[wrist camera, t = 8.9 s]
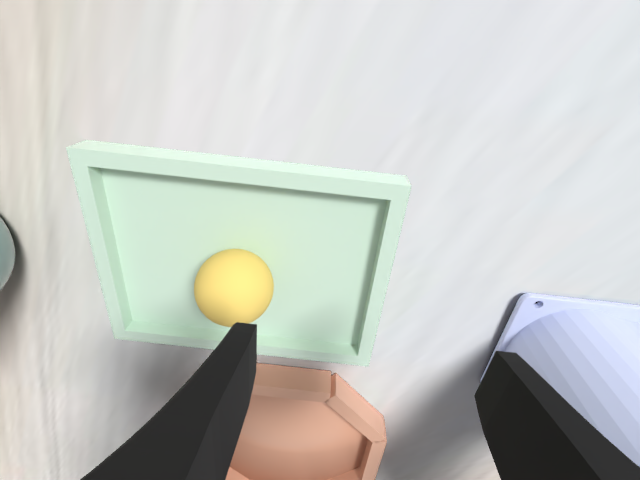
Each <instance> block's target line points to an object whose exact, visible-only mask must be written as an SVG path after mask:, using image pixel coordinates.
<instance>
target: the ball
mask: <svg viewBox="0 0 640 480" xmlns="http://www.w3.org/2000/svg"><path fill="white" fill-rule="evenodd" d="M273 291H274V282H273V277H272V273H271V271H270V269H269V267H268V266H267V264H266V263H265V262H264V261H263V260H262V259H261V258H260V257H259V256H257V255H256V254H254V253H252V252H250V251H247V250H243V249H227V250H223V251H220V252H218V253H216V254H214V255H212V256H211V257H210V258H208V259H207V260H206V261H205V262H204V263H203V265H202V266H201V267H200V269H199V271H198V273H197V275H196V278H195V282H194V296H195V300H196V303H197V305H198V307H199V309H200V311H201V312H202V313H203V314H204V315H205V316H206V317H207V318H208V319H209V320H211V321H212V322H214V323H216V324H218V325H221V326H226V327H232V326H233V324H235V323H236V322H240V323H251V322H253V321H255V320H256V319H258V318H259V317H260V316H261V315H262V314H263V313H264V312H265V311H266V309H267V308H268V306H269V305H270V302H271V300H272V297H273Z"/></svg>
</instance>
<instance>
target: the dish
mask: <svg viewBox="0 0 640 480" xmlns="http://www.w3.org/2000/svg"><path fill="white" fill-rule="evenodd" d="M386 444H387V438H386V430H385V422H384V419H383V415H382V414H380V413H379V412H378V411H377V410H376V409H375V408H374V407H373V406H372V405H371V404H369V403H368V402H367V401H366V400H365V399H364V398H363V397H362V396H361V395H360V394H358V393H357V392H356V391H355V390H354V389H353V388H352V387H351V386H350V385H349V384H347V383H346V382H345V381H344V380H343V379H342V378H341V377H340V376H339V375H338V374H336V373H335V374H333V375H331V371H326V370H317V369H308V368H299V367H290V366H280V365H271V364H262V363H256V376H255V380H254V385H253V390H252V395H251V399H250V404H249V407H248V411H247V414H246V417H245V420H244V423H243V426H242V430H241V433H240V436H239V439H238V442H237V445H236V448H235V451H234V454H233V457H232V461H231V464H230V467H229V470H228V473H227V476H226V479H225V480H375V478H376V475H377V472H378V468H379V465H380V462H381V459H382V456H383V453H384V450H385V447H386Z"/></svg>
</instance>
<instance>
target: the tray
mask: <svg viewBox="0 0 640 480" xmlns="http://www.w3.org/2000/svg"><path fill="white" fill-rule="evenodd" d="M66 149H67V153H68V157H69V161H70V165H71V169H72V173H73V177H74V181H75V185H76V189H77V193H78V197H79V201H80V205H81V209H82V213H83V216H84V220H85V224H86V228H87V232H88V236H89V240H90V244H91V248H92V252H93V256H94V260H95V264H96V268H97V272H98V276H99V280H100V284H101V288H102V292H103V296H104V300H105V303H106V307H107V311H108V315H109V319H110V323H111V327H112V331H113V335H114V339H121V340H130V341H139V342H148V343H157V344H166V345H176V346H185V347H194V348H203V349H212V350H215V348H216V347H217V346H218V345H219V343H220V342H221V341H222V339H223V338H224V337H225V335H226V334H227V333H228V331H229V330H230V328H231V327H226V326H221V325H218V324H216V323H214V322H212V321H211V320H209V319H208V318H207V317H206V316H205V315H204V314H203V313H202V312H201V311H200V309H199V307H198V305H197V303H196V300H195V296H194V282H195V278H196V275H197V273H198V271H199V269H200V267H201V266H202V265H203V263H204V262H205V261H206V260H207V259H208V258H210V257H211V256H212V255H214V254H216V253H218V252H220V251H223V250H227V249H243V250H247V251H250V252H252V253H254V254H256V255H257V256H259V257H260V258H261V259H262V260H263V261H264V262H265V263H266V264H267V266H268V267H269V269H270V271H271V273H272V277H273V282H274V291H273V297H272V300H271V302H270V305H269V306H268V308H267V309H266V311H265V312H264V313H263V314H262V315H261V316H260V317H259V318H258V319H256V320H255V321H253V322H251V323H249V324H257V354H258V355H267V356H276V357H285V358H295V359H304V360H313V361H322V362H331V363H340V364H350V365H359V366H368V367H369V362H370V358H371V354H372V350H373V346H374V341H375V337H376V333H377V329H378V325H379V320H380V316H381V312H382V308H383V304H384V299H385V295H386V291H387V287H388V283H389V279H390V274H391V270H392V266H393V262H394V258H395V253H396V249H397V245H398V241H399V237H400V232H401V228H402V224H403V220H404V216H405V211H406V207H407V203H408V199H409V195H410V191H411V184H410V182H409V180H408V178H407V176H405V175H396V174H387V173H378V172H369V171H360V170H352V169H343V168H334V167H325V166H316V165H307V164H298V163H289V162H280V161H271V160H262V159H253V158H244V157H235V156H226V155H218V154H209V153H200V152H191V151H182V150H173V149H164V148H155V147H146V146H137V145H128V144H119V143H110V142H101V141H92V140H85V141H82V142H79V143H77V144H74V145H71V146H68V147H66Z"/></svg>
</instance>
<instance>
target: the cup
mask: <svg viewBox="0 0 640 480" xmlns="http://www.w3.org/2000/svg"><path fill="white" fill-rule="evenodd" d="M14 264H15V245H14V241H13V237H12V235H11V233H10V231H9V229H8V227H7V226H6V224H5V223H4V221H3V220H2V219H1V217H0V291H1V290H2V289H3V288H4V286H5V284H6V283H7V281H8V280H9V278H10V276H11V274H12V272H13V269H14Z"/></svg>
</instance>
